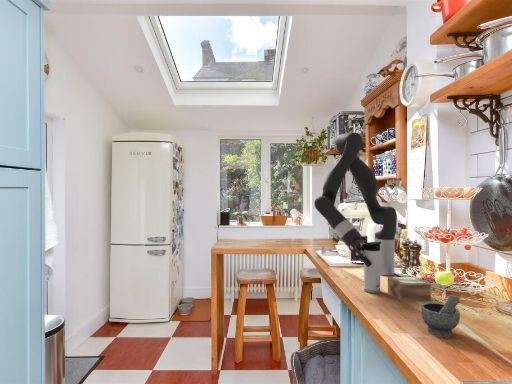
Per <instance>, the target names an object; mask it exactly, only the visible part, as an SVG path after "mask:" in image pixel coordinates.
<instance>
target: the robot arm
mask: <svg viewBox="0 0 512 384" xmlns="http://www.w3.org/2000/svg"><path fill="white" fill-rule="evenodd" d="M363 141H364V139H363V137H362V134H360V133H359V132H354V131H353V132H345V133H341V134H339V135H337V137H336V138H335V146H336V149H337V151H338V153H339V155H340V156H341V157H340V159H339V160H338V161H337V162H336V164H334V165H333V167H332V168H331V170H330V171H329V172H328V174H327V176H326V178H325V181H324V183H323V186H322V193H321V195H320V196H319V195H318V196H317V197H316V199H314V202H313V203H314V207H315V210H317V212H319V214H320V215H321V216H322V217H323V218H324V219H325V220H326V222H327V223H328V224H329V226H330V227H331V228H332V229H333V230H334V232H335V234H336V235H337V236H338V238H340V240H341V241H342V242H343V244H345V246H346V247H347V248H348V250H349V251H350V253H351V252H352V253H353V255H354V256H355V257H356V258H357V259H360V260H362V261H363V262H364V264H365V265H366V266H367V267H369V266H370V265H372V263H371V262H370V260H369V259H368V258H367V257H366V256H365V254H364V244H365V243H367V242H366V241H364V242H362V241H361V240H360V239H361V237H362V235H363V234H361V233H360V232H359V231H358V229H357V228H355V226H354V225H353V224H352V223H351V222H350V221H349V220H348V219H347V218H346V216H344V215H343V214H342V213H341V212H340V211H339V210H338V209H337V208H336V206H335V204H336V199H337V195H338V192H339V190H340V187H341V186H342V183H343V180H344V178H345V176H346V174H347V172H348V170H349V172H350V173H351V175H352V177H353V180H354V181H355V184H356V186H357V188H358V189H359V191H360V194H361V196H362V198H363V199H364V202H365V204H366V207H367V211H368V213H369V216H370V218H371V220H372V222H373V223H374V224H376V225H379V226H380V225H382V228H381V230H379V231H376V232H375V233H374V242H381V244H380V276H394V275H395V274H396V273H395V269H396V268H395V267H396V266H395V252H396V251H395V249H396V248H395V245H396V244H395V243H396V242H395V241H396V238H395V236H396V234H397V225H398V224H397V223H398V222H397V220H398V219H397V218H398V215H397V211H396V209H395V207H392V206H384V205H381V204H380V203H379V200H378V198H377V193H378V190H379V183H378V180H377V178H376V175H375V173H374V171H373V170H372V169H371V168H370V167H369V166H368V165H367V164H366V163H365V162H364V161H363V160H362V159H361V158H360V157H359V155H358V154H359V152H360V151H361V148H362V146H363ZM364 264H363V265H364ZM394 273H395V274H394Z"/></svg>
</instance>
